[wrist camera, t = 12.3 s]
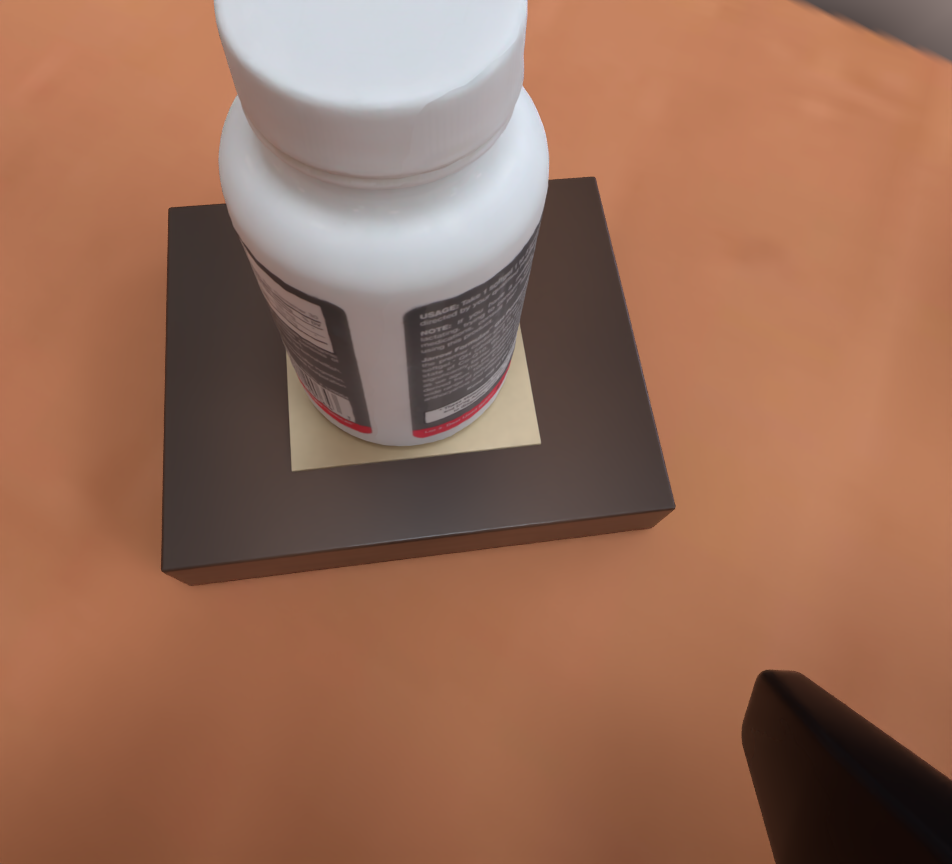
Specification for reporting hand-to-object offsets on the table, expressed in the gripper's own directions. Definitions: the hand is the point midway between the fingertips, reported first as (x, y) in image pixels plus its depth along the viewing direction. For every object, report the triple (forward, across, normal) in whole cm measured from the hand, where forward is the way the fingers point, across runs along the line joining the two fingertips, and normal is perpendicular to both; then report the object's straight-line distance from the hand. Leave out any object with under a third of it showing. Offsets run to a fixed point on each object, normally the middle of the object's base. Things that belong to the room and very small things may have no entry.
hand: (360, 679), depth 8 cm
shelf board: (+13, 0, +1) cm, 13 cm away
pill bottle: (+11, 0, 0) cm, 11 cm away
